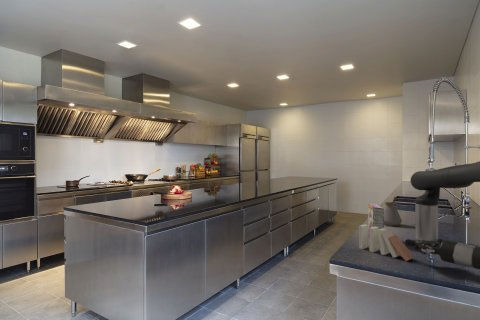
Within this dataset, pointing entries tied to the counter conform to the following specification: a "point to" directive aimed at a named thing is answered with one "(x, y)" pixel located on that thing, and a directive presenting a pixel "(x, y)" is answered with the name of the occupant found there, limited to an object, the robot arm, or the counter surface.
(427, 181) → the robot arm
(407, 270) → the counter surface
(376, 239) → the domino
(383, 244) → the domino
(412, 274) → the counter surface
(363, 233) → the domino
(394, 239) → the domino
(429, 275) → the counter surface
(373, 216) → the candy bar box
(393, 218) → the coffee pot
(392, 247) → the domino
